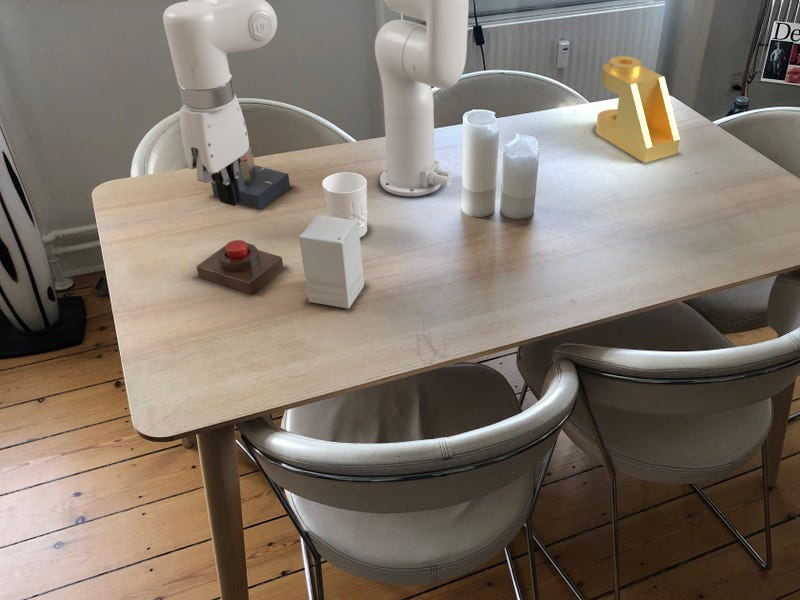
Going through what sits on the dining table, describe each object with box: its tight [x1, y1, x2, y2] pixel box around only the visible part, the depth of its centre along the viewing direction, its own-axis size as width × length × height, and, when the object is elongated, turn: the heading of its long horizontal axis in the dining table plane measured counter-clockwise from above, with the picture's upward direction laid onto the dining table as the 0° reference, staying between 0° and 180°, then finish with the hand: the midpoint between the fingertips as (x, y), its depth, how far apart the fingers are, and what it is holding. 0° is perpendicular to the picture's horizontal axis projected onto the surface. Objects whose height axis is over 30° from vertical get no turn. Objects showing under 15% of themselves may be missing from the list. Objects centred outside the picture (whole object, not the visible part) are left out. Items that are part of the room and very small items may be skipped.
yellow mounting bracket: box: [595, 55, 681, 164], centre depth 181 cm, size 20×9×16 cm, turn 31°
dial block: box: [210, 164, 291, 210], centre depth 164 cm, size 11×10×3 cm
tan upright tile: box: [240, 147, 256, 185], centre depth 161 cm, size 6×1×5 cm, turn 4°
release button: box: [224, 239, 249, 259], centre depth 140 cm, size 4×4×2 cm
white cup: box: [321, 171, 368, 238], centre depth 151 cm, size 8×8×10 cm
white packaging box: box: [298, 214, 365, 310], centre depth 134 cm, size 7×7×13 cm
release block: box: [196, 242, 284, 295], centre depth 142 cm, size 11×9×4 cm
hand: (230, 201), depth 135 cm, fingers closed
